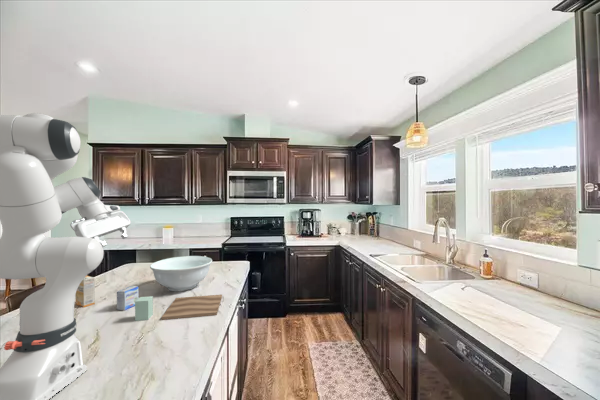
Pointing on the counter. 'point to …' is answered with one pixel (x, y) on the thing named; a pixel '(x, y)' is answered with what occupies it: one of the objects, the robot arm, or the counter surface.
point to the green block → (143, 308)
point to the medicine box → (127, 297)
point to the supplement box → (86, 292)
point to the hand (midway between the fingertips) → (115, 242)
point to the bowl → (181, 271)
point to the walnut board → (193, 307)
